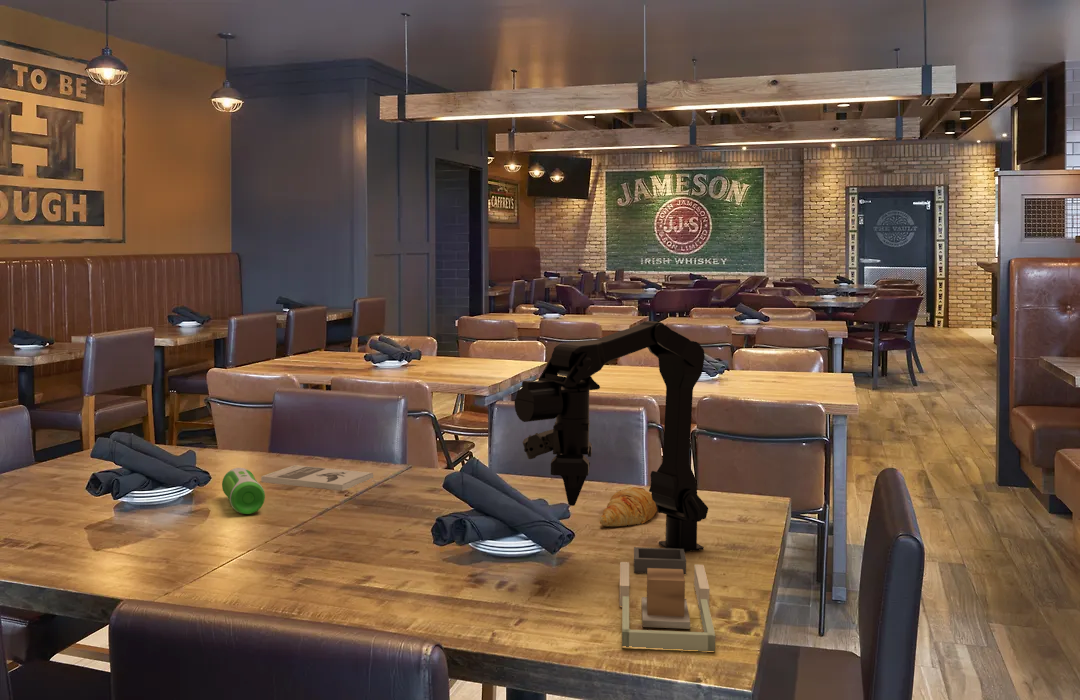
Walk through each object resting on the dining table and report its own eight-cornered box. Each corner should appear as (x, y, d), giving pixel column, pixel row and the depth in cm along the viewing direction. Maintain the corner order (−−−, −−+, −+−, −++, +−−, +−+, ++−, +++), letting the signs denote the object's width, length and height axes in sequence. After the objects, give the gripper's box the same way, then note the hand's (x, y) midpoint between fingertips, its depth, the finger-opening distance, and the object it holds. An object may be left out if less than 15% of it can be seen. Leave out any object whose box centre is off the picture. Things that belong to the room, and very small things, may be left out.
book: (261, 484, 237) (261, 476, 236) (295, 472, 250) (294, 464, 249) (342, 493, 228) (342, 484, 228) (373, 480, 241) (373, 472, 241)
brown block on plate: (641, 603, 155) (642, 563, 154) (685, 604, 154) (686, 564, 153) (642, 626, 145) (643, 584, 144) (690, 628, 144) (691, 586, 144)
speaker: (267, 515, 207) (266, 480, 206) (231, 518, 204) (230, 483, 203) (254, 496, 223) (253, 464, 222) (221, 499, 220) (220, 466, 219)
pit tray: (633, 560, 177) (634, 547, 177) (683, 562, 177) (683, 548, 176) (634, 572, 170) (634, 559, 170) (685, 574, 170) (686, 560, 169)
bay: (622, 611, 152) (622, 596, 151) (706, 615, 151) (706, 599, 150) (621, 649, 137) (622, 631, 137) (715, 652, 136) (715, 635, 136)
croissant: (613, 548, 196) (629, 518, 193) (577, 518, 201) (592, 488, 198) (666, 524, 213) (682, 495, 210) (632, 496, 218) (646, 468, 215)
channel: (619, 581, 166) (620, 561, 165) (703, 584, 164) (703, 564, 164) (619, 607, 154) (619, 585, 153) (708, 610, 152) (709, 588, 152)
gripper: (531, 407, 178) (530, 491, 179) (520, 424, 159) (520, 518, 161) (592, 408, 177) (591, 492, 178) (588, 426, 158) (587, 520, 160)
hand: (571, 505), depth 169 cm, fingers closed
